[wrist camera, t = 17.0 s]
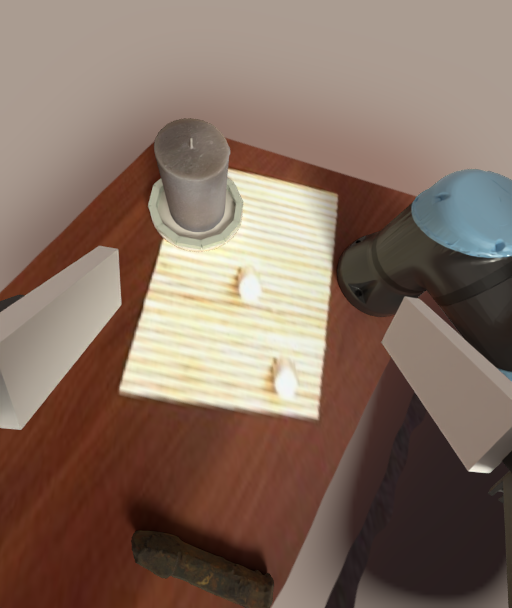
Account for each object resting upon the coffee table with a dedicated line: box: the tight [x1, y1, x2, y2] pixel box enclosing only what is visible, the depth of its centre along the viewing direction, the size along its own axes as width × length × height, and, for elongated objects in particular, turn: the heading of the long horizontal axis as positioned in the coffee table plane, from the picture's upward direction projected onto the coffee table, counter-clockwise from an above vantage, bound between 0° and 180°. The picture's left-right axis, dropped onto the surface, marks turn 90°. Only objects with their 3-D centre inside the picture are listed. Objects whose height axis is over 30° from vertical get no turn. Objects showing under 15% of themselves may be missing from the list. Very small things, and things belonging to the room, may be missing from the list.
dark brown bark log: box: [131, 530, 274, 608], centre depth 35 cm, size 19×4×5 cm, turn 64°
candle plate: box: [148, 178, 243, 252], centre depth 49 cm, size 16×16×2 cm
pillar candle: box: [154, 118, 230, 232], centre depth 42 cm, size 10×10×15 cm
